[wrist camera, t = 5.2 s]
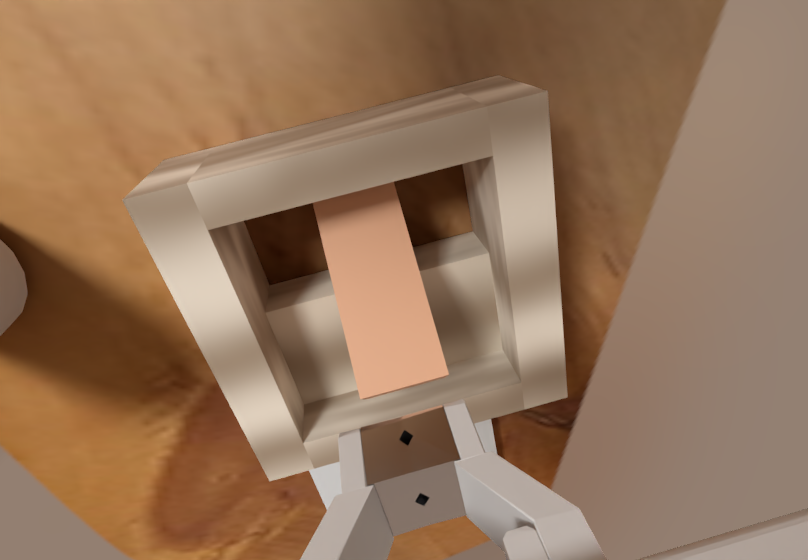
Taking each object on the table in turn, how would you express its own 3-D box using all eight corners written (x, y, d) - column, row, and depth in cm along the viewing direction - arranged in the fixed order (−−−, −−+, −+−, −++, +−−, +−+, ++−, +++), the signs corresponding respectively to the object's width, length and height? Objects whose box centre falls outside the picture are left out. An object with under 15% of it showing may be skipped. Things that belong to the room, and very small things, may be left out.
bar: (321, 214, 27) (310, 192, 24) (393, 196, 27) (390, 171, 24) (366, 399, 24) (360, 399, 21) (445, 377, 25) (448, 374, 22)
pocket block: (163, 160, 24) (122, 199, 19) (498, 75, 25) (547, 90, 20) (276, 405, 32) (269, 481, 27) (527, 336, 33) (567, 397, 28)
